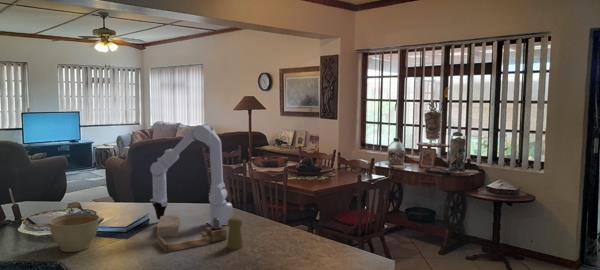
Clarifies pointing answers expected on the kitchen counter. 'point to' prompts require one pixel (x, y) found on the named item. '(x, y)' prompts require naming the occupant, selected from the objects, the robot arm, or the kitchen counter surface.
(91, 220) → the planter bowl
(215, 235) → the walnut gauge block
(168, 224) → the brick
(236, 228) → the cork
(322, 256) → the kitchen counter surface
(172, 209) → the kitchen counter surface
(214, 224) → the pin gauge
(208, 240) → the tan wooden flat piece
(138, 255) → the kitchen counter surface
